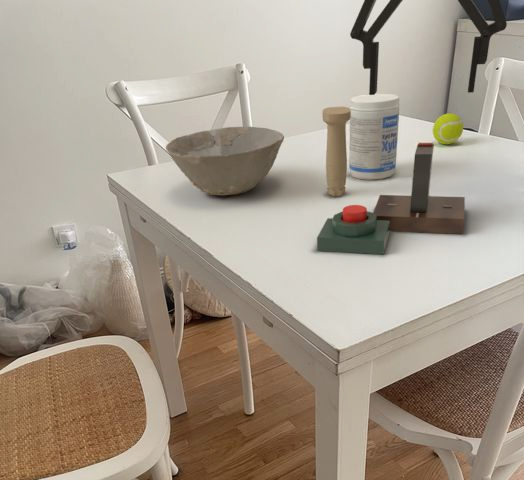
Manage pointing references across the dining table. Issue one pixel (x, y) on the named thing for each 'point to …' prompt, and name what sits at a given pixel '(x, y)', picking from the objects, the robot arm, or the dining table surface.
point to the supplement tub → (373, 136)
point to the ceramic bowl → (226, 158)
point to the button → (354, 213)
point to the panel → (422, 214)
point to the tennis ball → (448, 128)
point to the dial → (421, 177)
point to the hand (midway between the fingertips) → (420, 92)
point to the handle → (336, 148)
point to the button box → (354, 235)
